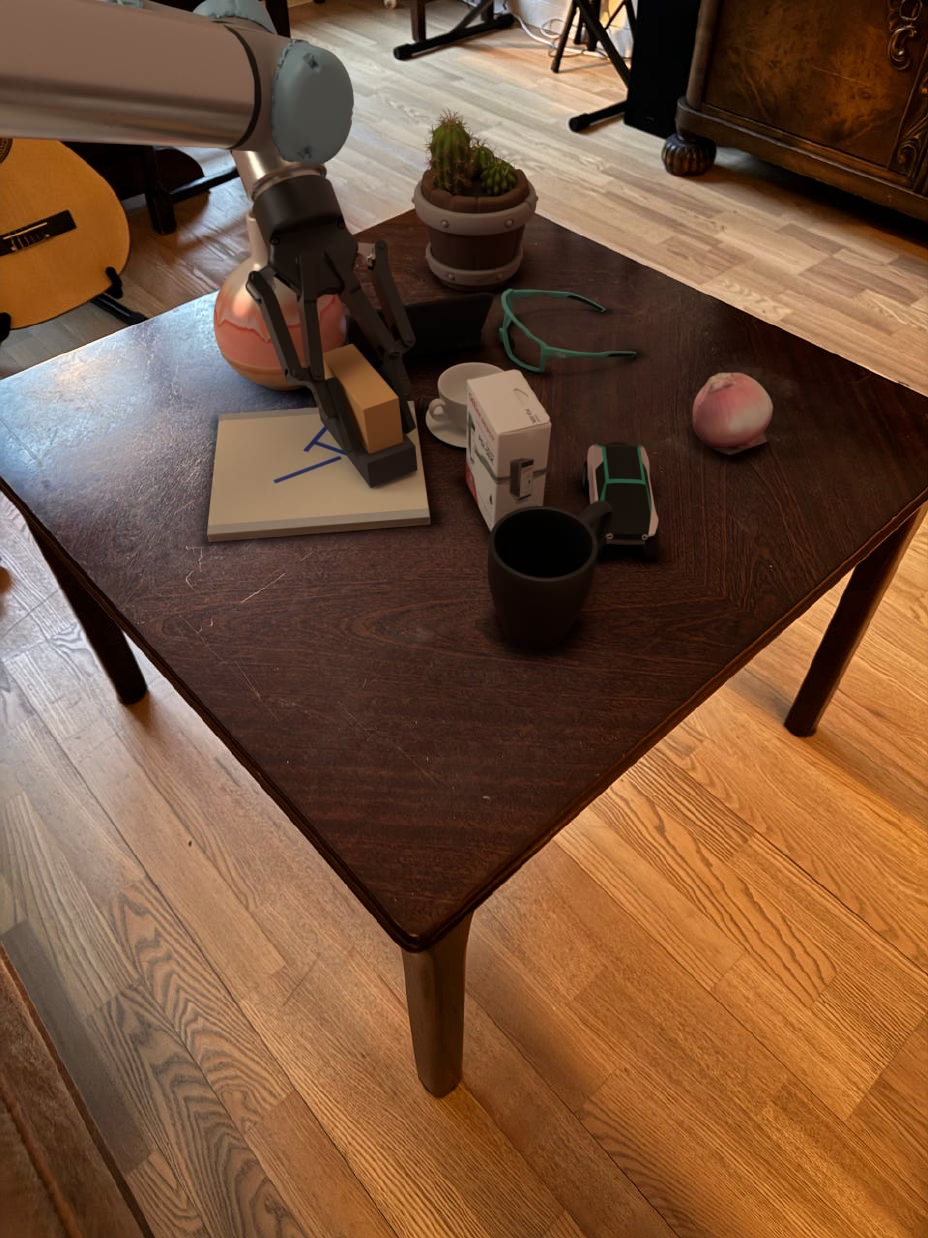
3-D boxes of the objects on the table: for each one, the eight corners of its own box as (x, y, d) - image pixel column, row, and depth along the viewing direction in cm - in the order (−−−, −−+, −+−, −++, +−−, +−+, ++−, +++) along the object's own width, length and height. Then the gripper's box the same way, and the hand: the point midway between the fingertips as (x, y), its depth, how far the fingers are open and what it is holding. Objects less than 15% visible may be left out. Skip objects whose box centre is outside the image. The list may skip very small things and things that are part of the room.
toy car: (642, 476, 84) (651, 431, 80) (655, 564, 77) (666, 520, 73) (581, 475, 85) (587, 430, 80) (588, 563, 77) (595, 518, 73)
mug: (635, 604, 73) (654, 521, 66) (535, 680, 68) (544, 598, 61) (564, 553, 77) (575, 469, 70) (464, 622, 72) (465, 538, 65)
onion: (701, 408, 92) (716, 348, 86) (773, 430, 89) (793, 369, 84) (675, 450, 87) (690, 389, 82) (751, 474, 85) (771, 412, 79)
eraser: (370, 488, 81) (359, 418, 75) (320, 420, 88) (307, 351, 82) (418, 470, 82) (411, 400, 76) (365, 404, 89) (355, 335, 83)
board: (209, 542, 78) (206, 533, 77) (221, 421, 90) (219, 413, 89) (430, 524, 80) (429, 516, 79) (413, 408, 92) (413, 400, 91)
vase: (218, 351, 99) (180, 191, 85) (336, 332, 101) (318, 174, 88) (235, 421, 90) (196, 256, 77) (363, 398, 93) (347, 234, 79)
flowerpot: (497, 236, 117) (503, 68, 102) (553, 288, 108) (568, 112, 93) (398, 258, 113) (388, 86, 98) (446, 314, 104) (444, 134, 89)
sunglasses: (480, 318, 103) (485, 278, 100) (596, 313, 107) (605, 274, 103) (515, 384, 94) (522, 342, 91) (640, 377, 98) (651, 336, 94)
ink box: (463, 480, 84) (463, 375, 75) (510, 470, 85) (516, 365, 76) (492, 540, 79) (497, 433, 70) (543, 528, 80) (553, 422, 71)
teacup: (492, 384, 94) (494, 345, 91) (539, 434, 89) (543, 395, 85) (409, 409, 91) (407, 370, 88) (453, 463, 86) (452, 423, 82)
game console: (459, 307, 105) (460, 233, 98) (494, 368, 96) (496, 292, 90) (333, 325, 102) (324, 251, 95) (356, 391, 94) (348, 314, 87)
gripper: (371, 189, 84) (453, 421, 87) (189, 231, 78) (284, 476, 81) (391, 151, 77) (480, 403, 80) (193, 193, 71) (297, 463, 74)
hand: (381, 440), depth 81 cm, fingers closed on eraser, 5 cm apart
